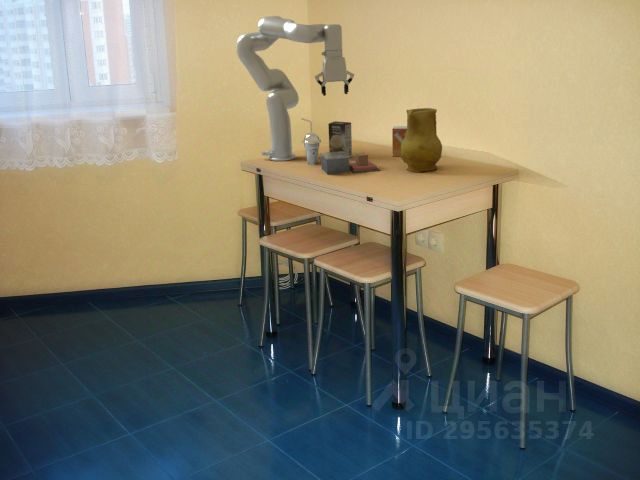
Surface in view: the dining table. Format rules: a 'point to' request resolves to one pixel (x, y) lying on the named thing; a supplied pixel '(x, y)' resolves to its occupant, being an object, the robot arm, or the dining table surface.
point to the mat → (365, 170)
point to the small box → (398, 139)
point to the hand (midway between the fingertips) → (335, 94)
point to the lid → (362, 163)
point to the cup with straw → (311, 146)
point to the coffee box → (340, 137)
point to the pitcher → (421, 140)
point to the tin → (335, 162)
